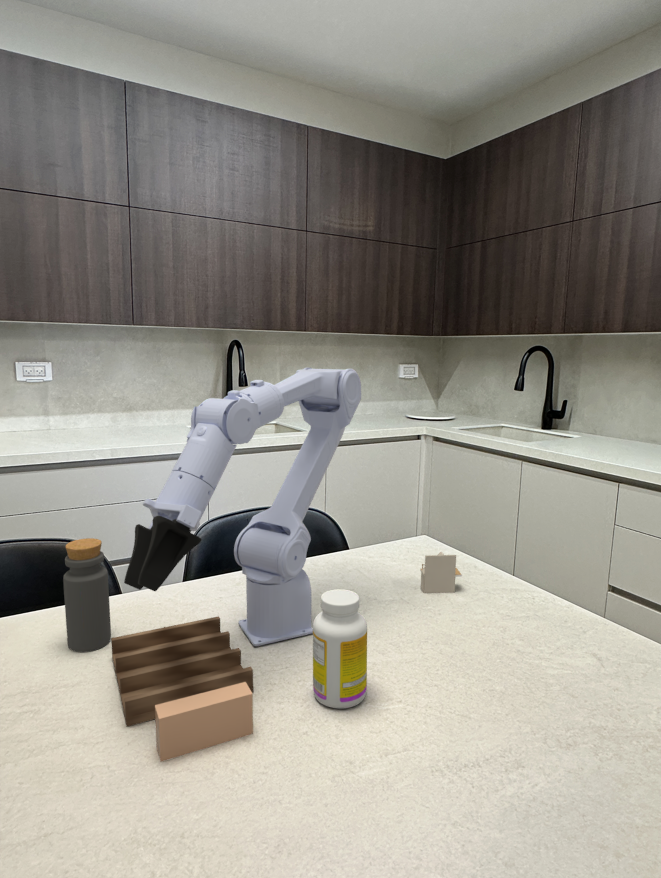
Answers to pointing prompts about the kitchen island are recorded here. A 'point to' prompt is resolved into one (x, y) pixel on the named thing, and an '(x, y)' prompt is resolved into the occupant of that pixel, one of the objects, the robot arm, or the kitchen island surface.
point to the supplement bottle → (340, 650)
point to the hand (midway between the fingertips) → (139, 587)
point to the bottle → (86, 596)
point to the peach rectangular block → (203, 720)
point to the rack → (174, 666)
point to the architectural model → (439, 574)
